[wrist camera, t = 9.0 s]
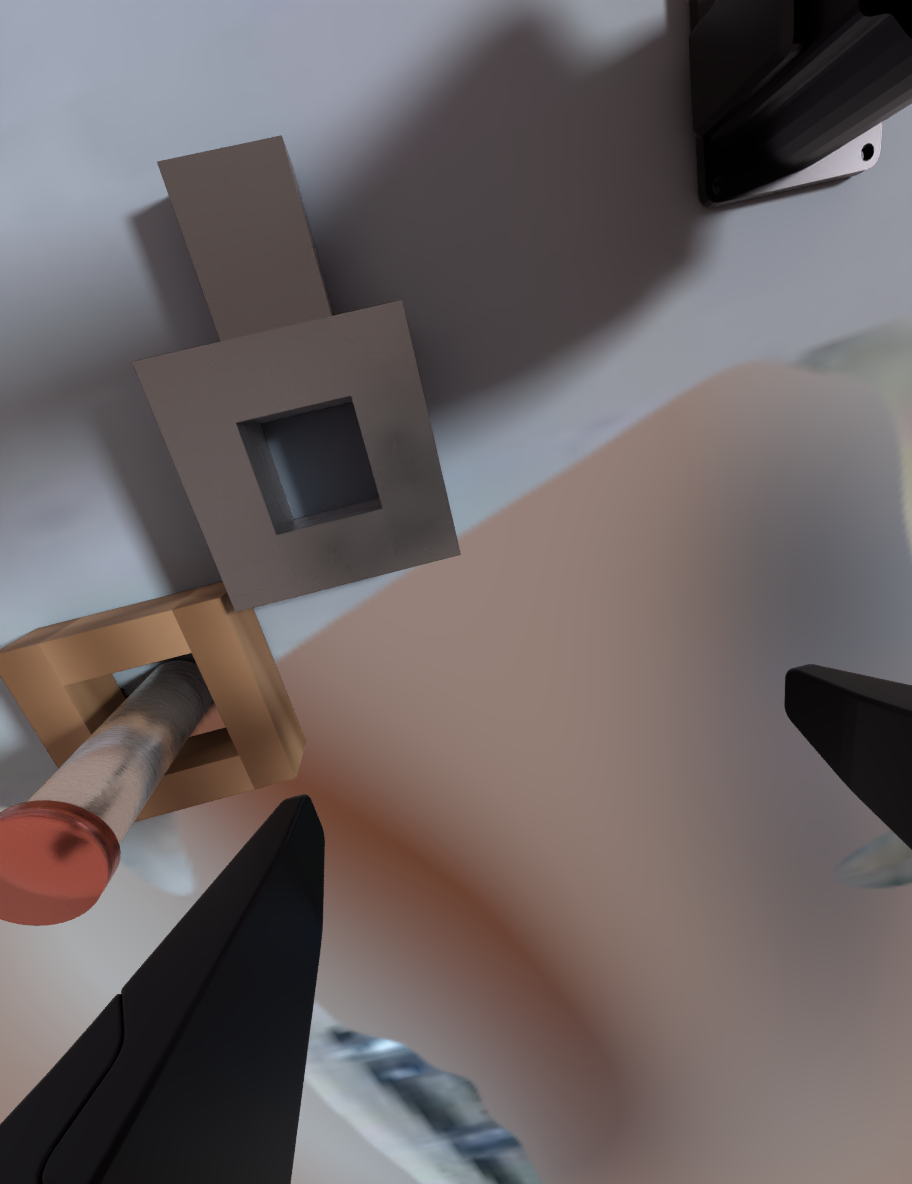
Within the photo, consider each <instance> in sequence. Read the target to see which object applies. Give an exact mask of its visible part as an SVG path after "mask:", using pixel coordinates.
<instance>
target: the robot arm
mask: <svg viewBox="0 0 912 1184" xmlns="http://www.w3.org/2000/svg"><path fill="white" fill-rule="evenodd" d="M690 15H691V36H690V39H689V51H690V73H691V95H692V117H693V131H694V133H695V135H696V150H697V173H698V194H699V199H700V201H701V203H702V204H703V205H704V206H706V207H707V208H713V207H718V206H722V205H726V204H731V203H735V202H740V201H744V200H748V199H753V198H757V197H762V196H766V195H770V194H775V193H779V192H784V191H788V190H793V189H797V188H801V187H806V186H810V185H815V184H819V183H823V182H828V181H832V180H837V179H841V178H845V177H850V176H854V175H857V174H860V173H862V172H863V171H865V170H867V169H869V168H871V167H872V166H873V165H874V164H875V163H876V162H877V160H878V158H879V155H880V150H881V136H882V122H883V121H884V120H886V119H887V118H889V117H891V116H892V115H894V114H896V113H897V112H899V111H900V110H902V109H904V108H905V107H907V106H908V105H910V104H912V0H690ZM861 150H862V152H863V154H864V158H863V160H862V158H861ZM713 182H715V183H716V184H717V185H718V188H719V191H718V194H715V193H714V192H713V189H712V184H713ZM785 711H786V713H787V716H788V717H789V719H790V720H791V722H792V723H793V724H794V725H795V726H796V727H797V728H798V730H799V731H800V732H801V733H802V735H803V736H804V737H805V738H806V739H807V740H808V741H809V743H810V744H811V745H812V746H813V747H814V748H815V750H816V751H817V752H818V753H819V754H820V755H821V757H822V758H823V759H824V760H825V761H826V762H827V764H828V765H829V766H830V767H831V768H832V769H833V771H834V772H835V773H836V774H837V775H838V776H839V778H840V779H841V780H842V781H843V782H844V783H845V784H846V785H847V786H848V787H849V789H850V790H851V791H852V792H853V793H854V794H855V795H856V796H857V797H858V798H859V799H860V800H862V802H863V803H864V804H865V805H866V806H867V807H868V808H870V810H871V811H872V812H874V814H875V815H877V816H878V817H879V818H880V819H881V820H882V821H883V822H884V823H885V824H886V825H887V826H888V827H889V828H890V829H891V830H892V831H893V832H894V833H895V834H896V835H897V836H898V837H899V838H900V839H901V840H902V841H903V842H904V843H905V844H906V845H907V846H908V847H909V848H910V849H911V850H912V685H907V684H902V683H898V682H893V681H889V680H884V679H879V678H875V677H870V676H865V675H861V674H856V673H851V672H847V671H842V670H838V669H833V668H828V667H823V666H819V665H814V664H807V665H803V666H799V667H796V668H792V669H790V670H788V671H787V673H786V676H785ZM324 856H325V837H324V831H323V827H322V825H321V822H320V820H319V817H318V815H317V812H316V810H315V807H314V805H313V802H312V800H311V798H310V797H309V796H308V795H306V794H302V795H299V796H294V797H290V798H287V799H285V800H284V801H282V802H281V803H280V805H279V806H278V807H277V808H276V809H275V810H274V812H273V813H272V814H271V815H270V816H269V818H268V819H267V820H266V821H265V822H264V823H263V824H262V826H261V827H260V828H259V829H258V830H257V831H256V833H255V834H254V835H253V836H252V837H251V838H250V840H249V841H248V842H247V843H246V844H245V845H244V847H243V848H242V849H241V850H240V851H239V853H238V854H237V855H236V856H235V857H234V858H233V859H232V861H231V862H230V863H229V864H228V865H227V866H226V868H225V869H224V870H223V871H222V872H221V874H220V875H219V876H218V877H217V878H216V879H215V880H214V882H213V883H212V884H211V885H210V886H209V887H208V889H207V890H206V891H205V892H204V893H203V894H202V896H201V897H200V898H199V899H198V901H197V902H196V903H195V904H194V905H193V906H192V907H191V909H190V910H189V911H188V912H187V913H186V915H184V917H183V918H182V919H181V920H180V922H179V923H178V924H177V925H176V926H175V927H174V928H173V929H172V931H171V932H170V933H169V934H168V935H167V936H166V938H165V939H164V940H163V941H162V943H161V944H160V945H159V946H158V947H157V948H156V949H155V951H154V952H153V953H152V954H151V955H150V956H149V958H148V959H147V960H146V961H145V962H144V963H143V965H142V966H141V967H140V968H139V969H138V970H137V972H136V973H135V974H134V975H133V976H132V977H131V978H130V980H129V981H128V982H127V983H126V984H125V986H124V987H123V988H122V990H121V994H117V995H116V996H115V997H114V998H113V999H112V1000H111V1002H110V1003H109V1004H108V1005H107V1006H106V1007H105V1009H104V1010H103V1011H102V1012H101V1013H100V1014H99V1016H98V1017H97V1018H96V1019H95V1020H94V1021H93V1023H92V1024H91V1025H90V1026H89V1027H88V1028H87V1029H86V1031H85V1032H84V1033H83V1034H82V1035H81V1036H80V1037H79V1039H78V1040H77V1041H76V1042H75V1043H74V1044H73V1045H72V1047H71V1048H70V1049H69V1050H68V1051H67V1052H66V1053H65V1054H64V1056H63V1057H62V1058H61V1059H60V1060H59V1061H58V1062H57V1063H56V1065H55V1066H54V1067H53V1068H52V1069H51V1070H50V1071H49V1072H48V1073H47V1075H46V1076H45V1077H44V1078H43V1079H42V1080H41V1081H40V1082H39V1083H38V1084H37V1085H36V1086H35V1088H34V1089H33V1090H32V1091H31V1092H30V1093H29V1094H28V1095H27V1096H26V1097H25V1098H24V1099H23V1100H22V1101H21V1103H20V1104H19V1105H18V1106H17V1107H16V1108H15V1109H14V1110H13V1111H12V1112H11V1113H10V1115H9V1116H8V1117H7V1118H6V1119H5V1120H4V1121H3V1122H2V1123H1V1124H0V1184H291V1175H292V1168H293V1160H294V1152H295V1144H296V1136H297V1128H298V1121H299V1113H300V1105H301V1098H302V1090H303V1082H304V1074H305V1066H306V1059H307V1051H308V1043H309V1035H310V1027H311V1020H312V1012H313V1004H314V996H315V988H316V980H317V972H318V965H319V957H320V949H321V939H322V929H323V899H324Z"/></svg>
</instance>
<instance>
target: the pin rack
mask: <svg viewBox="0 0 912 1184" xmlns="http://www.w3.org/2000/svg"><path fill="white" fill-rule="evenodd" d="M189 653H192V655H193V657H194V659H195V661H196V663H197V666H198V668H199V670H200V672H201V674H202V676H203V679H204V681H205V683H206V685H207V687H208V689H209V692H210V694H211V696H212V698H213V700H214V702H215V705H216V707H217V709H218V711H219V713H220V715H221V718H222V720H223V722H224V724H225V726H226V728H222V729H218V730H214V731H211V732H207V733H203V734H199V735H196V736H192V737H188V739H187V741H186V742H185V744H184V745H183V747H182V748H181V750H180V751H179V753H178V754H177V756H176V758H175V759H174V761H173V762H172V764H171V765H170V767H169V768H168V770H167V771H166V773H165V774H164V776H163V778H162V779H161V781H160V782H159V784H158V785H157V787H156V788H155V790H154V791H153V793H152V794H151V796H150V798H149V799H148V801H147V802H146V804H145V805H144V807H143V808H142V810H141V811H140V813H139V815H138V816H137V818H136V819H135V821H134V822H137V821H140V820H144V819H148V818H151V817H155V816H159V815H162V814H166V813H170V812H173V811H177V810H181V809H184V808H188V807H192V806H195V805H199V804H203V803H206V802H210V801H214V800H217V799H221V798H225V797H229V796H232V795H236V794H240V793H243V792H247V791H250V790H254V789H258V788H262V787H265V786H269V785H273V784H276V783H280V782H283V781H287V780H291V779H294V778H296V777H297V773H298V769H299V766H300V762H301V758H302V755H303V751H304V746H305V743H306V739H305V737H304V734H303V732H302V729H301V727H300V724H299V722H298V719H297V717H296V714H295V712H294V709H293V707H292V704H291V702H290V699H289V696H288V694H287V692H286V689H285V687H284V684H283V681H282V679H281V677H280V674H279V671H278V669H277V666H276V664H275V661H274V659H273V656H272V654H271V651H270V649H269V646H268V644H267V641H266V639H265V636H264V634H263V631H262V629H261V626H260V624H259V621H258V619H257V616H256V614H255V611H254V609H253V608H250V609H246V610H242V611H238V612H235V610H234V607H233V605H232V603H231V600H230V598H229V595H228V593H227V591H226V588H225V586H224V583H223V582H220V583H216V584H212V585H208V586H204V587H200V588H196V589H192V590H188V591H184V592H180V593H176V594H172V595H168V596H164V597H160V598H156V599H152V600H148V601H144V602H140V603H136V604H132V605H128V606H124V607H120V608H116V609H112V610H108V611H104V612H100V613H96V614H93V615H89V616H85V617H81V618H77V619H73V620H69V621H65V622H61V623H57V624H53V625H49V626H45V627H41V628H38V629H36V630H34V631H32V632H31V633H29V634H27V635H25V636H24V637H22V638H20V639H18V640H17V641H15V642H13V643H11V644H10V645H8V646H6V647H4V648H2V649H1V650H0V676H1V677H2V679H3V681H4V682H5V684H6V685H7V687H8V689H9V690H10V692H11V693H12V695H13V697H14V698H15V700H16V701H17V703H18V705H19V706H20V708H21V709H22V711H23V713H24V714H25V716H26V717H27V719H28V721H29V722H30V724H31V725H32V727H33V729H34V730H35V732H36V733H37V735H38V737H39V738H40V740H41V741H42V743H43V745H44V746H45V748H46V749H47V751H48V753H49V754H50V756H51V757H52V759H53V761H54V762H55V764H56V765H57V767H58V769H59V768H60V767H61V766H62V765H63V764H64V763H65V762H66V761H67V760H68V759H69V758H70V757H71V756H72V755H73V753H74V752H75V751H76V750H77V749H78V748H79V747H80V746H81V745H82V744H83V743H84V742H85V741H86V740H87V739H88V738H89V737H90V736H91V735H92V734H93V733H94V732H95V731H96V730H97V729H98V728H99V727H100V726H101V725H102V724H103V723H104V722H105V720H106V719H107V718H108V717H109V716H110V715H111V714H112V713H113V712H114V711H115V710H116V709H117V708H118V707H119V706H120V705H121V704H122V703H123V702H124V701H125V700H126V699H125V697H124V695H123V693H122V691H121V690H120V688H119V686H118V684H117V682H116V680H115V678H114V677H113V675H112V673H115V672H119V671H123V670H127V669H131V668H135V667H138V666H142V665H146V664H150V663H154V662H158V661H162V660H166V659H169V658H173V657H177V656H181V655H185V654H189Z"/></svg>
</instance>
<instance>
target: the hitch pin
mask: <svg viewBox="0 0 912 1184" xmlns="http://www.w3.org/2000/svg"><path fill="white" fill-rule="evenodd" d="M212 700H213V698H212V696H211V694H210V692H209V689H208V687H207V685H206V683H205V681H204V679H203V676H202V674H201V672H200V670H199V668H198V666H197V664H195V663H193V662H189V661H185V660H173V661H168V662H165V663H163V664H161V665H160V666H158V667H157V668H156V669H155V670H154V671H153V672H152V673H151V674H150V675H149V676H148V677H147V678H146V679H145V680H144V681H143V682H142V683H141V684H140V685H139V686H138V687H137V688H136V690H135V691H134V692H133V693H132V694H131V695H130V696H129V697H128V698H127V699H126V700H125V701H124V702H123V703H122V704H121V705H120V706H119V707H118V708H117V709H116V710H115V711H114V712H113V713H112V714H111V715H110V716H109V717H108V718H107V719H106V720H105V722H104V723H103V724H102V725H101V726H100V727H99V728H98V729H97V730H96V731H95V732H94V733H93V734H92V735H91V736H90V737H89V738H88V739H87V740H86V741H85V742H84V743H83V744H82V745H81V746H80V747H79V748H78V749H77V750H76V751H75V752H74V753H73V755H72V756H71V757H70V758H69V759H68V760H67V761H66V762H65V763H64V764H63V765H62V766H61V767H60V768H59V769H58V770H57V771H56V772H55V773H54V774H53V775H52V776H51V777H50V778H49V779H48V780H47V781H46V782H45V783H44V784H43V785H42V787H41V788H40V789H39V790H38V791H37V792H36V793H35V794H34V795H33V796H32V797H31V798H30V799H29V800H28V801H27V802H24V803H20V804H17V805H14V806H11V807H9V808H7V809H5V810H3V811H2V812H0V919H2V920H5V921H8V922H12V923H16V924H22V925H35V926H40V925H52V924H58V923H63V922H66V921H69V920H72V919H74V918H76V917H78V916H80V915H82V914H84V913H85V912H87V911H88V910H89V909H90V908H91V907H92V906H93V905H94V904H95V903H96V902H97V900H98V899H99V897H100V896H101V894H102V892H103V891H104V889H105V888H106V886H107V884H108V883H109V881H110V880H111V878H112V876H113V875H114V873H115V871H116V870H117V867H118V865H119V862H120V853H121V852H120V845H119V844H120V842H121V841H122V839H123V838H124V836H125V835H126V833H127V831H128V830H129V828H130V827H131V825H132V824H133V822H134V821H135V819H136V818H137V816H138V815H139V813H140V811H141V810H142V808H143V807H144V805H145V804H146V802H147V801H148V799H149V798H150V796H151V794H152V793H153V791H154V790H155V788H156V787H157V785H158V784H159V782H160V781H161V779H162V778H163V776H164V774H165V773H166V771H167V770H168V768H169V767H170V765H171V764H172V762H173V761H174V759H175V758H176V756H177V754H178V753H179V751H180V750H181V748H182V747H183V745H184V744H185V742H186V741H187V739H188V737H189V736H190V734H191V733H192V731H193V730H194V728H195V727H196V725H197V724H198V722H199V721H200V719H201V717H202V716H203V714H204V713H205V711H206V710H207V708H208V707H209V705H210V704H211V702H212Z"/></svg>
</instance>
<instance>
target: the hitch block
mask: <svg viewBox="0 0 912 1184" xmlns="http://www.w3.org/2000/svg"><path fill="white" fill-rule="evenodd" d="M157 163H158V166H159V169H160V172H161V175H162V177H163V180H164V183H165V186H166V189H167V192H168V194H169V197H170V200H171V203H172V206H173V209H174V211H175V214H176V217H177V220H178V223H179V226H180V228H181V231H182V234H183V237H184V240H185V243H186V245H187V248H188V251H189V254H190V257H191V260H192V263H193V265H194V268H195V271H196V274H197V277H198V280H199V282H200V285H201V288H202V291H203V294H204V297H205V299H206V302H207V305H208V308H209V311H210V314H211V316H212V319H213V322H214V325H215V328H216V331H217V333H218V336H219V339H220V342H216V343H212V344H207V345H203V346H199V347H194V348H190V349H185V350H181V351H177V352H172V353H168V354H164V355H159V356H155V357H151V358H146V359H142V360H137V361H133V362H132V364H133V366H134V368H135V371H136V373H137V376H138V378H139V380H140V383H141V385H142V388H143V390H144V393H145V395H146V397H147V400H148V402H149V405H150V407H151V409H152V412H153V414H154V417H155V419H156V422H157V424H158V426H159V429H160V431H161V434H162V436H163V438H164V441H165V443H166V446H167V448H168V450H169V453H170V455H171V458H172V460H173V463H174V465H175V467H176V470H177V472H178V475H179V477H180V479H181V482H182V484H183V487H184V489H185V492H186V494H187V496H188V499H189V501H190V504H191V506H192V508H193V511H194V513H195V516H196V518H197V521H198V523H199V525H200V528H201V530H202V533H203V535H204V537H205V540H206V542H207V545H208V547H209V549H210V552H211V554H212V557H213V559H214V562H215V564H216V566H217V569H218V571H219V574H220V576H221V578H222V581H223V583H224V586H225V588H226V591H227V593H228V595H229V598H230V600H231V603H232V605H233V607H234V610H235V612H238V611H242V610H246V609H250V608H254V607H258V606H262V605H266V604H270V603H274V602H277V601H281V600H285V599H289V598H293V597H297V596H301V595H305V594H309V593H313V592H317V591H321V590H324V589H328V588H332V587H336V586H340V585H344V584H348V583H352V582H356V581H360V580H364V579H368V578H372V577H375V576H379V575H383V574H387V573H391V572H395V571H399V570H403V569H407V568H411V567H415V566H419V565H423V564H426V563H430V562H434V561H438V560H442V559H446V558H450V557H454V556H458V555H460V554H461V553H460V549H459V545H458V540H457V536H456V532H455V527H454V523H453V519H452V514H451V510H450V506H449V501H448V497H447V493H446V488H445V484H444V480H443V475H442V471H441V467H440V462H439V458H438V454H437V449H436V445H435V441H434V436H433V432H432V428H431V423H430V419H429V415H428V410H427V406H426V402H425V397H424V393H423V389H422V384H421V380H420V376H419V371H418V367H417V363H416V358H415V354H414V350H413V345H412V341H411V337H410V332H409V328H408V324H407V319H406V315H405V311H404V306H403V302H402V300H399V301H395V302H391V303H386V304H382V305H378V306H373V307H369V308H364V309H360V310H356V311H351V312H347V313H343V314H338V315H334V314H333V311H332V307H331V304H330V300H329V296H328V293H327V289H326V285H325V282H324V278H323V275H322V271H321V267H320V264H319V260H318V256H317V253H316V249H315V245H314V242H313V238H312V235H311V231H310V227H309V224H308V220H307V216H306V213H305V209H304V206H303V202H302V198H301V195H300V191H299V187H298V184H297V180H296V177H295V173H294V169H293V166H292V162H291V159H290V157H289V154H288V151H287V149H286V146H285V143H284V141H283V138H282V136H277V137H272V138H267V139H263V140H258V141H253V142H248V143H244V144H239V145H234V146H229V147H225V148H220V149H215V150H210V151H206V152H201V153H196V154H191V155H187V156H182V157H177V158H172V159H168V160H163V161H158V162H157ZM349 402H353V404H354V408H355V411H356V415H357V419H358V422H359V426H360V429H361V433H362V437H363V440H364V444H365V447H366V451H367V454H368V458H369V462H370V465H371V469H372V472H373V476H374V480H375V483H376V487H377V490H378V494H379V497H380V498H377V499H373V500H369V501H365V502H361V503H357V504H353V505H349V506H345V507H341V508H337V509H333V510H329V511H325V512H321V513H317V514H313V515H309V516H305V517H301V518H297V519H293V517H292V514H291V511H290V508H289V505H288V502H287V499H286V496H285V493H284V491H283V488H282V485H281V482H280V479H279V476H278V473H277V470H276V467H275V464H274V462H273V459H272V456H271V453H270V450H269V447H268V444H267V441H266V438H265V435H264V433H263V430H262V427H261V424H260V423H265V422H269V421H273V420H277V419H281V418H286V417H290V416H294V415H298V414H302V413H307V412H311V411H315V410H319V409H323V408H328V407H332V406H336V405H340V404H344V403H349Z"/></svg>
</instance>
